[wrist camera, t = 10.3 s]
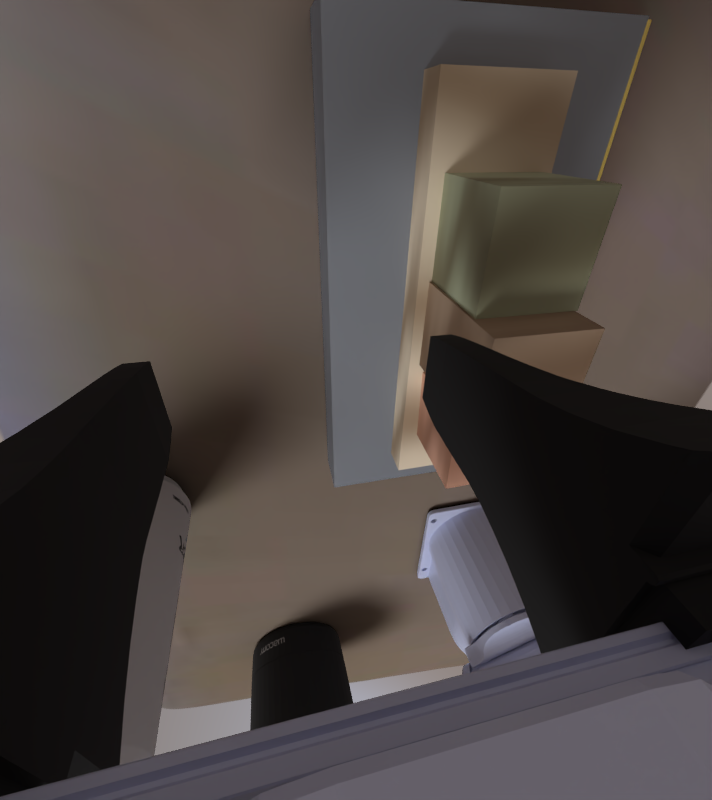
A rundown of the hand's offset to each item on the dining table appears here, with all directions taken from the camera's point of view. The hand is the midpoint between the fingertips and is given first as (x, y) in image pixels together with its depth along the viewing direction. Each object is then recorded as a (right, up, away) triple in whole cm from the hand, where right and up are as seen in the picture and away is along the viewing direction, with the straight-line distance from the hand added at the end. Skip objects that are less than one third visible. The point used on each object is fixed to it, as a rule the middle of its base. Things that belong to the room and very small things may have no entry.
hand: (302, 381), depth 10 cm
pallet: (+6, +4, +9) cm, 11 cm away
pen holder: (-5, -25, +30) cm, 40 cm away
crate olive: (+7, +6, +5) cm, 11 cm away
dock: (+6, +5, +11) cm, 13 cm away
